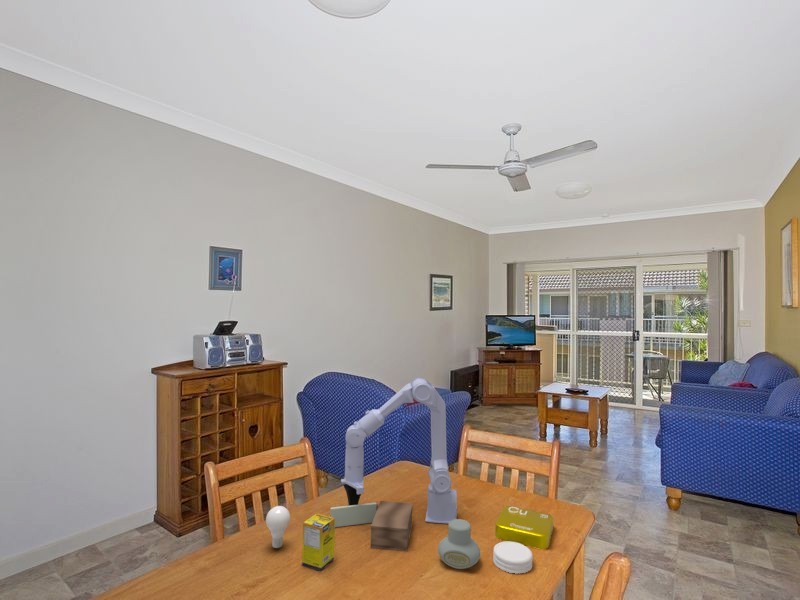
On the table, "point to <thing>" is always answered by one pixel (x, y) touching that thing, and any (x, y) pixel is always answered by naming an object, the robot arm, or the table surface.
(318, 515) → the supplement box
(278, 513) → the lightbulb
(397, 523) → the walnut cabinet
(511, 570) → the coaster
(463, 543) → the air freshener
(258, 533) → the table surface
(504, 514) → the element tile
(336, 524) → the cabinet door
